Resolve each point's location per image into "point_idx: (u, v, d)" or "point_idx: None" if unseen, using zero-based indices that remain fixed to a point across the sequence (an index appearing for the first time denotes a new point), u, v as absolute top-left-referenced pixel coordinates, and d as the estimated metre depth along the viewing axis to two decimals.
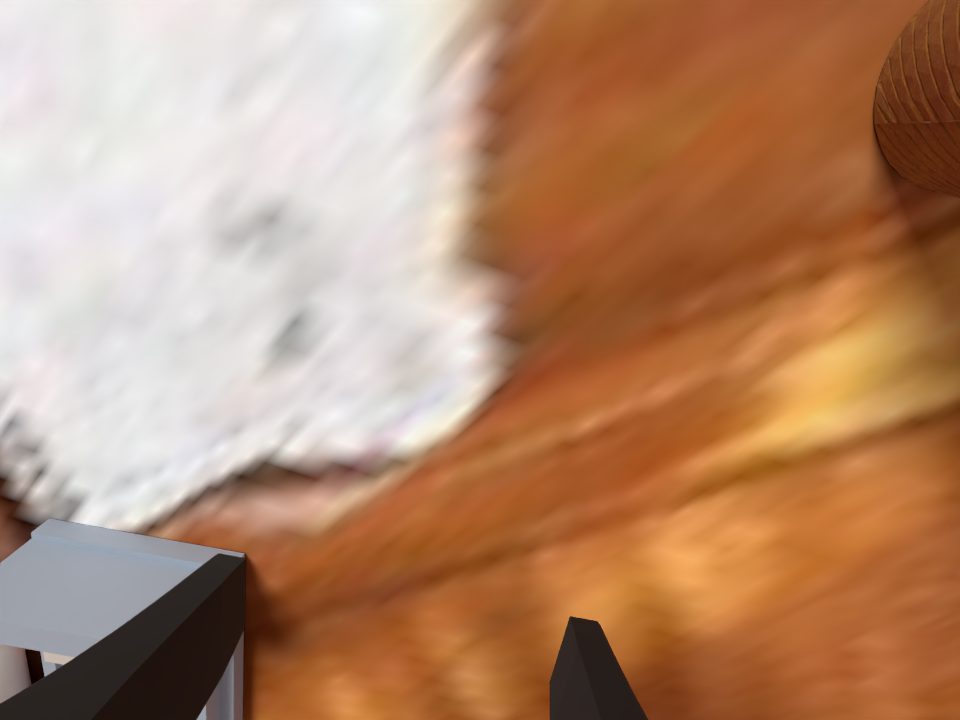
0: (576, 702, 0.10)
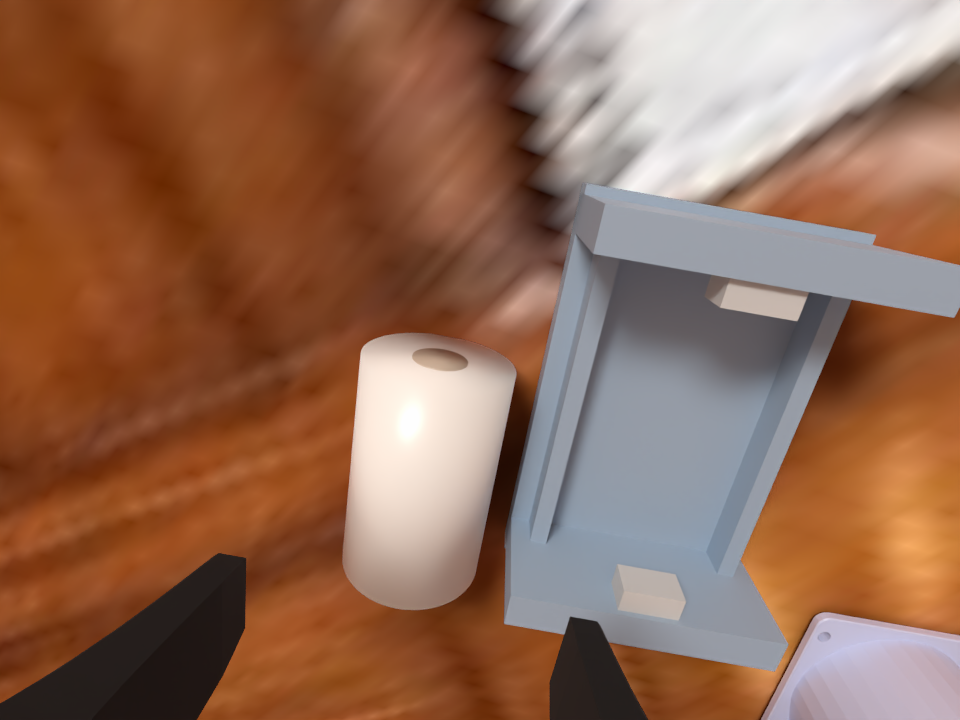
0: (576, 702, 0.10)
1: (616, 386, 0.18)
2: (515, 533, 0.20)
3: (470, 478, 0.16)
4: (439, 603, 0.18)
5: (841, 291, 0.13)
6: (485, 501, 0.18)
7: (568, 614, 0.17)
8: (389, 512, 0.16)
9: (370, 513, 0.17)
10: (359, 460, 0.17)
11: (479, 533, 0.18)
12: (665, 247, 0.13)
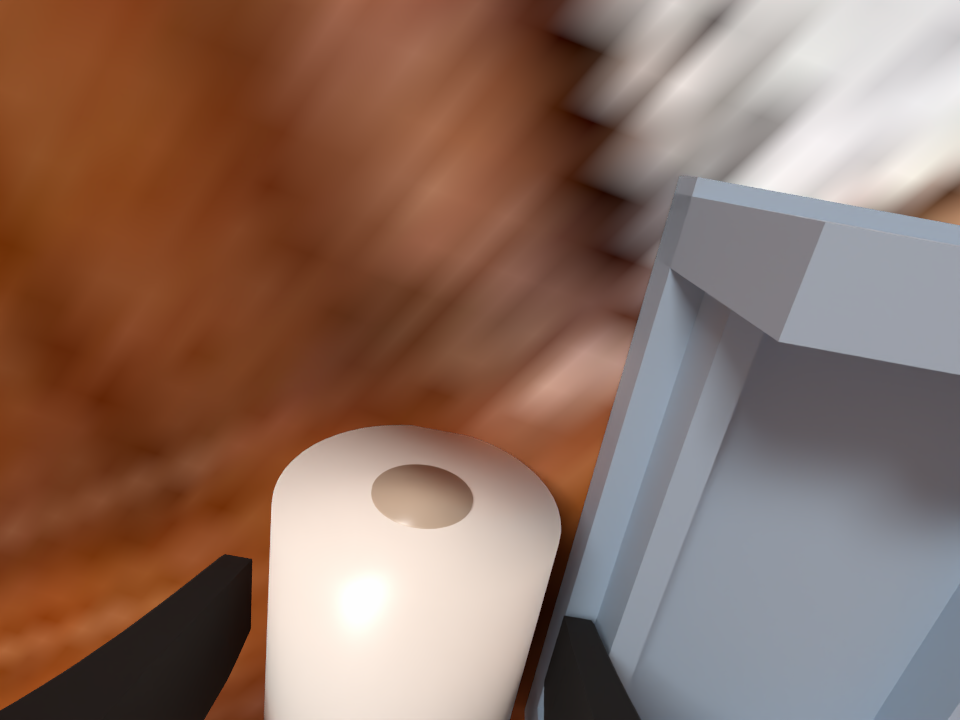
0: (569, 701, 0.10)
1: (723, 523, 0.11)
2: None
3: None
4: None
5: None
6: None
7: None
8: None
9: None
10: (272, 684, 0.09)
11: None
12: None
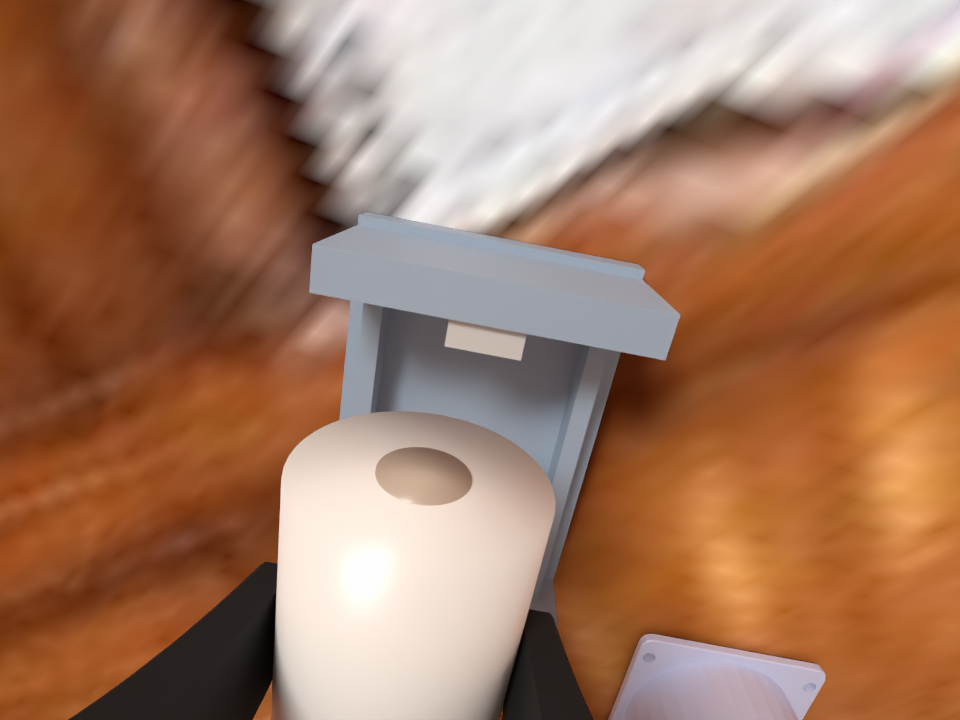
0: (522, 692, 0.10)
1: None
2: None
3: (498, 676, 0.10)
4: None
5: (553, 333, 0.13)
6: None
7: None
8: None
9: None
10: (295, 677, 0.09)
11: None
12: (377, 287, 0.13)
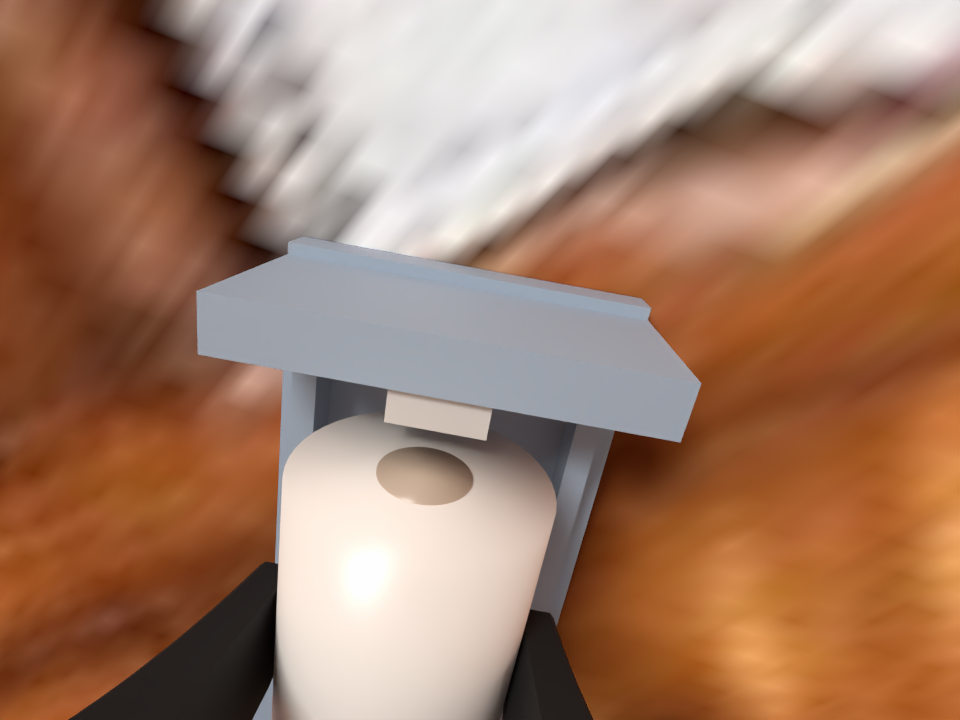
0: (522, 692, 0.10)
1: None
2: None
3: (499, 676, 0.10)
4: None
5: (528, 407, 0.10)
6: None
7: None
8: None
9: None
10: (295, 678, 0.09)
11: None
12: (288, 347, 0.10)
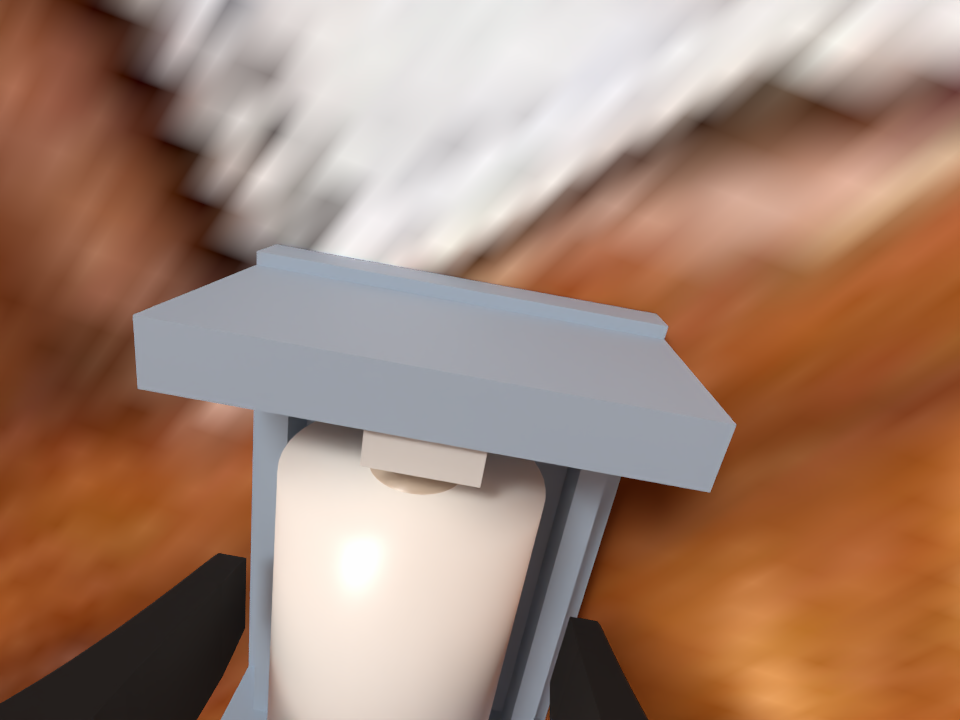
0: (576, 702, 0.10)
1: None
2: (238, 696, 0.15)
3: (483, 668, 0.10)
4: None
5: (529, 451, 0.08)
6: (498, 678, 0.11)
7: None
8: None
9: None
10: (285, 654, 0.10)
11: None
12: (244, 381, 0.08)
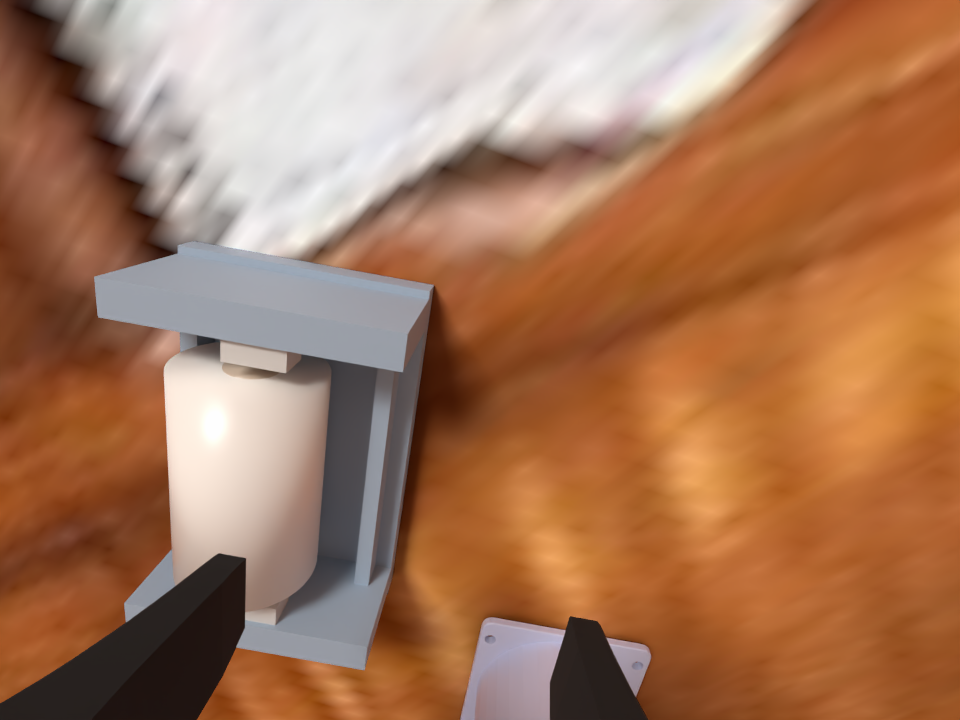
0: (576, 702, 0.10)
1: None
2: None
3: (272, 484, 0.17)
4: (257, 606, 0.18)
5: (305, 350, 0.15)
6: (300, 507, 0.18)
7: None
8: (193, 517, 0.17)
9: (178, 517, 0.17)
10: (168, 465, 0.17)
11: (300, 538, 0.18)
12: (153, 312, 0.15)
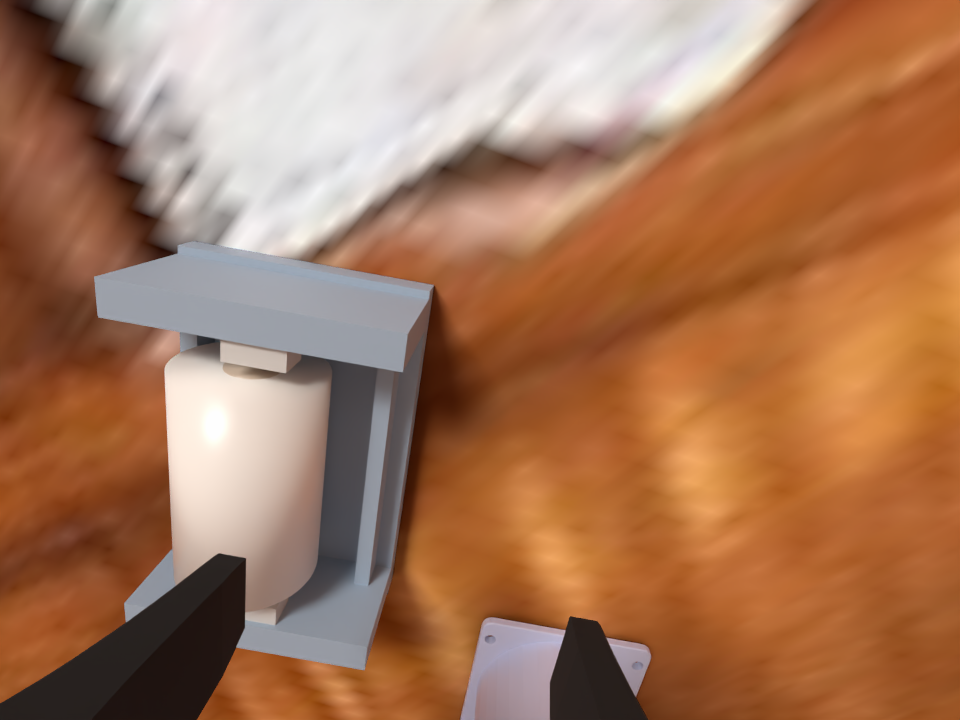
0: (576, 702, 0.10)
1: None
2: None
3: (273, 484, 0.17)
4: (259, 607, 0.18)
5: (305, 350, 0.15)
6: (301, 507, 0.18)
7: None
8: (194, 517, 0.17)
9: (179, 518, 0.17)
10: (169, 465, 0.17)
11: (301, 538, 0.18)
12: (153, 312, 0.15)
